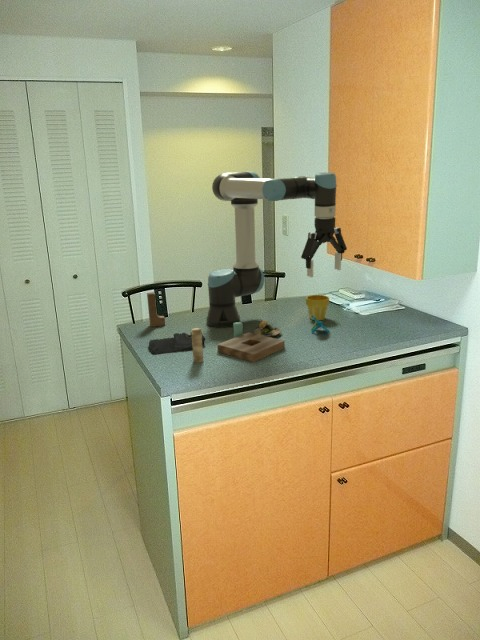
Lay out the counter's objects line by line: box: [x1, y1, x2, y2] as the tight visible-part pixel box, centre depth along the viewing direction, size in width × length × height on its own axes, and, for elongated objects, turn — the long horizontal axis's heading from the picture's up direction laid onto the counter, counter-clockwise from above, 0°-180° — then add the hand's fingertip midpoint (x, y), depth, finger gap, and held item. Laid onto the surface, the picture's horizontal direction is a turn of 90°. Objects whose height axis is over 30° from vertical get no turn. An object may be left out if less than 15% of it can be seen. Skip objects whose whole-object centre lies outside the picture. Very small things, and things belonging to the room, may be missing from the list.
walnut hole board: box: [216, 331, 286, 363], centre depth 195 cm, size 18×18×3 cm
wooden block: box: [146, 291, 166, 328], centre depth 230 cm, size 7×3×15 cm, turn 106°
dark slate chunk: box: [148, 332, 206, 356], centre depth 203 cm, size 15×22×5 cm
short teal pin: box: [232, 321, 244, 338], centre depth 206 cm, size 4×4×7 cm
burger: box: [252, 319, 282, 338], centre depth 211 cm, size 12×12×8 cm
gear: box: [310, 316, 330, 334], centre depth 212 cm, size 11×6×10 cm
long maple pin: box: [190, 327, 204, 364], centre depth 185 cm, size 4×4×12 cm
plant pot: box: [305, 294, 330, 321], centre depth 230 cm, size 10×10×10 cm
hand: (324, 272), depth 195 cm, fingers open, 13 cm apart
